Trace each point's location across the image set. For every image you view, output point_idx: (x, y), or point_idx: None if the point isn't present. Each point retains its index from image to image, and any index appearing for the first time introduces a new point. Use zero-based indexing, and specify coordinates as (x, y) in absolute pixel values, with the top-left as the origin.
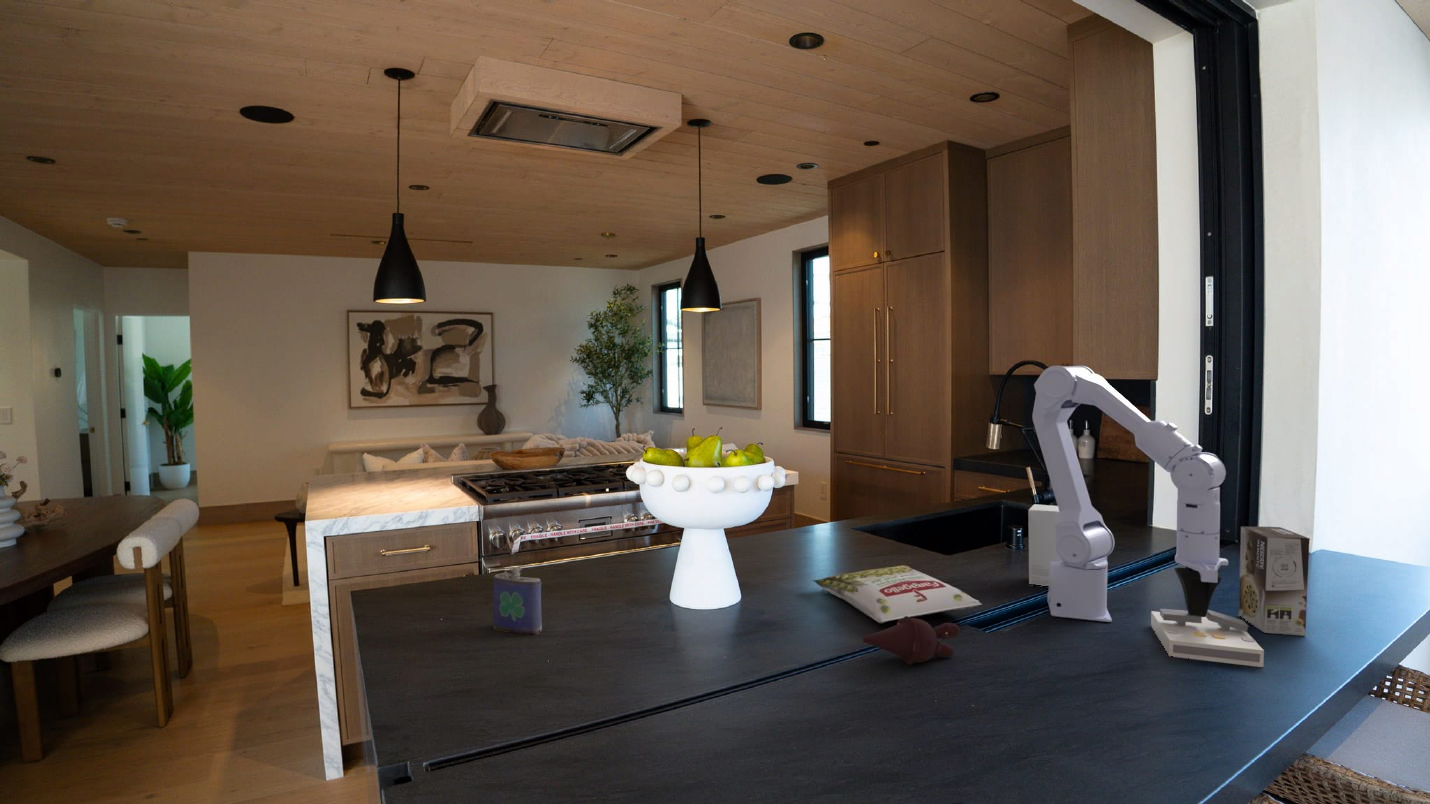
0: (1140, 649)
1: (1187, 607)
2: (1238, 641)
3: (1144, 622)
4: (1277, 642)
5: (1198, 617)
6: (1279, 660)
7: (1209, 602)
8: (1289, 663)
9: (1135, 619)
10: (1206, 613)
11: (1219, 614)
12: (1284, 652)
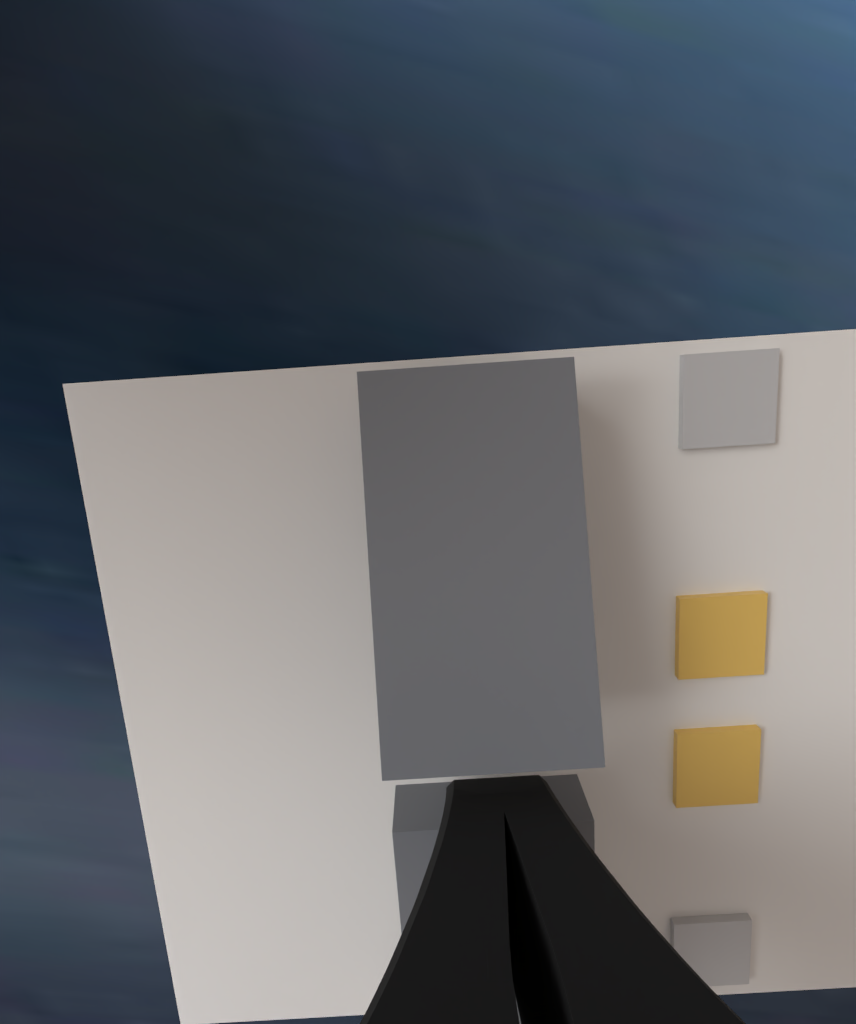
0: (749, 1006)
1: (515, 991)
2: (794, 491)
3: (161, 941)
4: (183, 61)
5: (594, 841)
6: (669, 167)
7: (621, 893)
8: (717, 102)
9: (120, 985)
10: (550, 793)
11: (449, 641)
12: (444, 70)
